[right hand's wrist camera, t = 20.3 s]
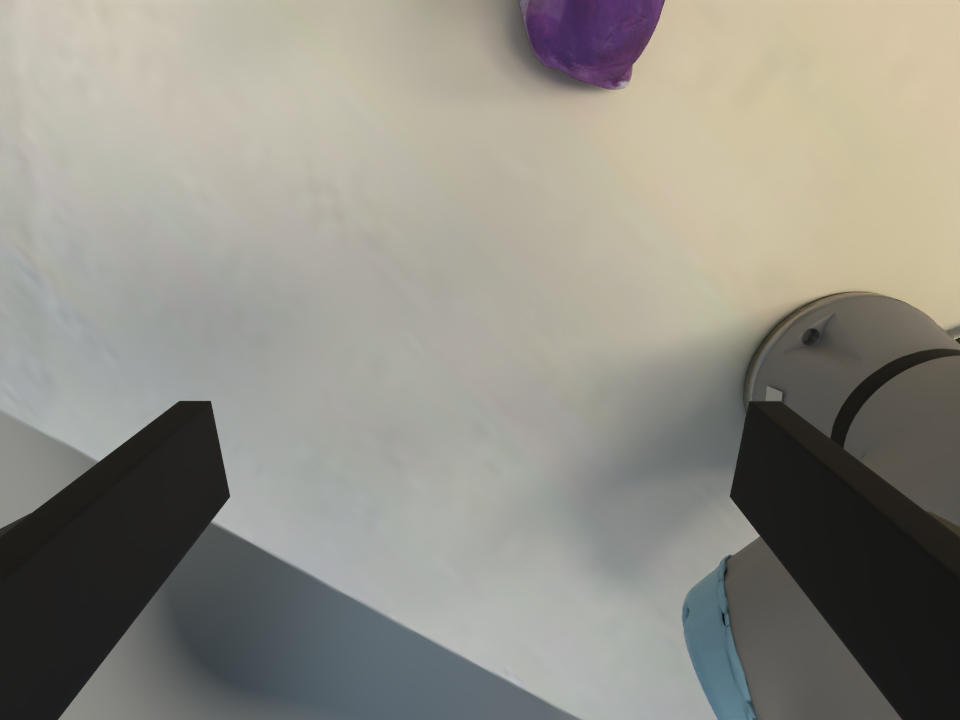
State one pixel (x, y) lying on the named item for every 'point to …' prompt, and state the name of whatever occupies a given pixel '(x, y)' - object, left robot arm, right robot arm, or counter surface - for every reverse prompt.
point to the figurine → (591, 36)
